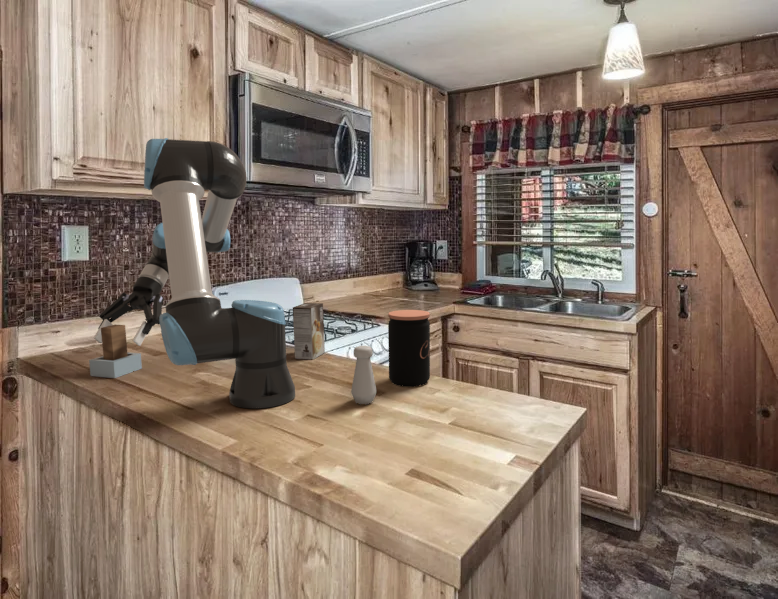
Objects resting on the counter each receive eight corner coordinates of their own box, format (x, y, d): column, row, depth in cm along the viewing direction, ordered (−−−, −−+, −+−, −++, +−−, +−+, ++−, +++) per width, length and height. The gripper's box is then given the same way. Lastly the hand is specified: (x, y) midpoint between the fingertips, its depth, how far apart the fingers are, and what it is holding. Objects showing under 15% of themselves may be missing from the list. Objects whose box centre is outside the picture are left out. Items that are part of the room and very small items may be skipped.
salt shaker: (367, 407, 118) (366, 350, 116) (346, 403, 121) (345, 347, 119) (381, 400, 123) (380, 345, 121) (361, 396, 126) (359, 342, 124)
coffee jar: (427, 388, 131) (427, 317, 128) (385, 386, 133) (384, 316, 130) (432, 376, 141) (432, 310, 139) (393, 374, 143) (392, 309, 141)
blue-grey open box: (141, 368, 153) (140, 353, 152) (114, 378, 143) (113, 362, 143) (118, 366, 155) (117, 351, 154) (90, 375, 146) (89, 360, 145)
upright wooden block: (128, 366, 151) (125, 325, 149) (114, 371, 146) (110, 328, 144) (118, 365, 152) (115, 324, 150) (104, 370, 147) (100, 327, 145)
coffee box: (306, 351, 170) (305, 302, 168) (325, 352, 169) (323, 303, 166) (294, 358, 162) (292, 306, 159) (313, 360, 160) (311, 307, 158)
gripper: (191, 291, 160) (160, 351, 148) (124, 289, 168) (90, 346, 156) (178, 275, 155) (145, 337, 143) (110, 274, 162) (73, 332, 150)
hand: (116, 342), depth 149 cm, fingers open, 13 cm apart
